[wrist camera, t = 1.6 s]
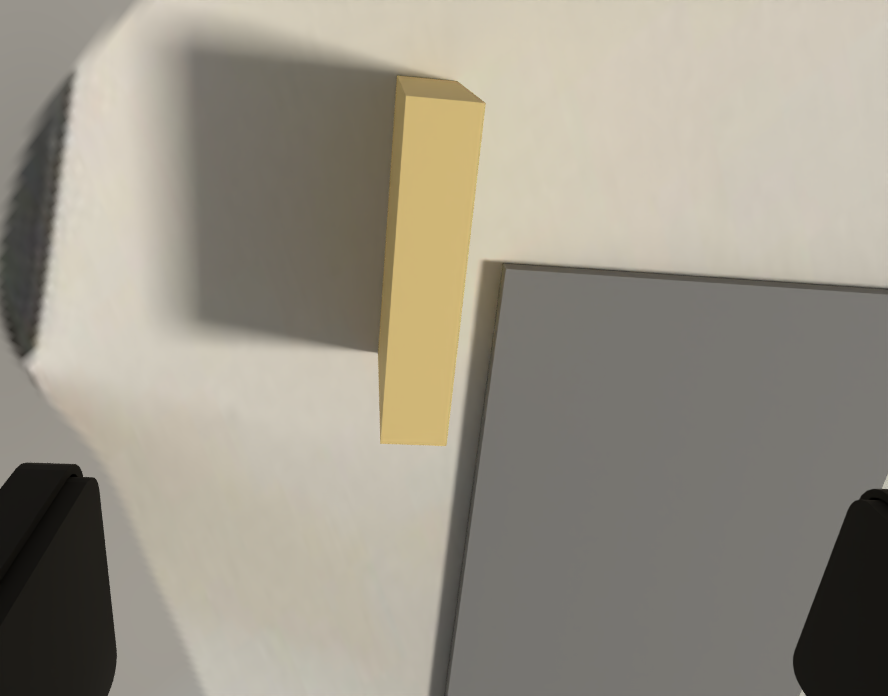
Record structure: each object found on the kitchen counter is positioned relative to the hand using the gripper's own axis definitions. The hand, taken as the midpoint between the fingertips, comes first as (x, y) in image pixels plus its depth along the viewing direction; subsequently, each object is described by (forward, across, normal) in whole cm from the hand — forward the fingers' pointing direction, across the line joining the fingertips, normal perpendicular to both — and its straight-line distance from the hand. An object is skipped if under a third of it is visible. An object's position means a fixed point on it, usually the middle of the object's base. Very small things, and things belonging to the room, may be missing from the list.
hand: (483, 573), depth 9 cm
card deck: (+16, 0, 0) cm, 16 cm away
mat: (+16, -11, +11) cm, 22 cm away
